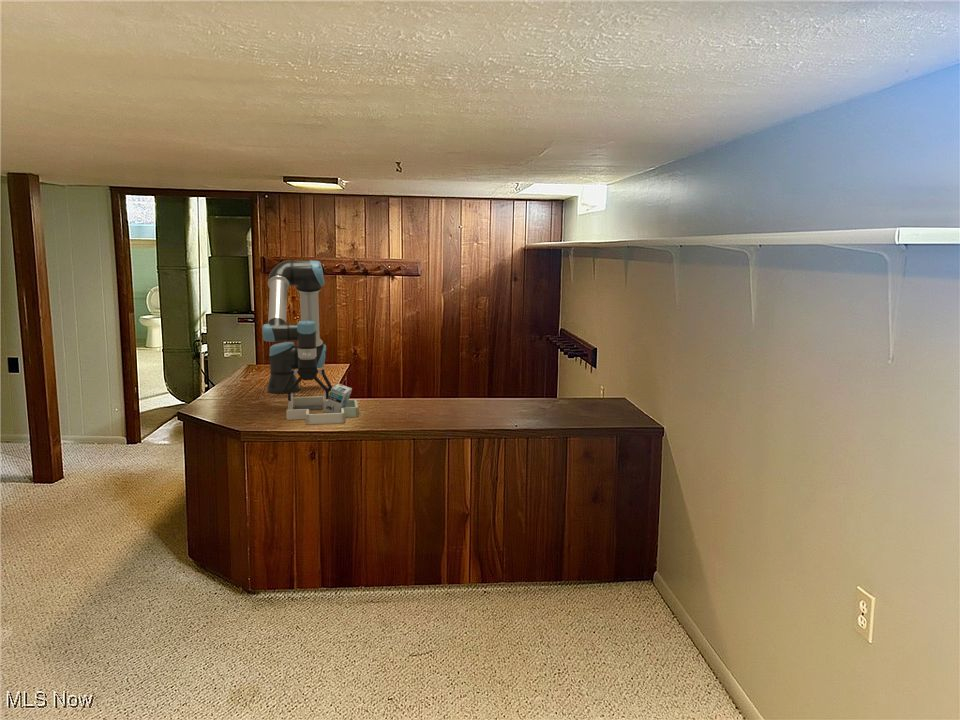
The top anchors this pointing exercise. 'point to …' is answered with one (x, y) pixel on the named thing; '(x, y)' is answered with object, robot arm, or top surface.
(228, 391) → the top surface
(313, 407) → the mats
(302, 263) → the robot arm
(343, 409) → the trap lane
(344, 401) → the light bulb box
